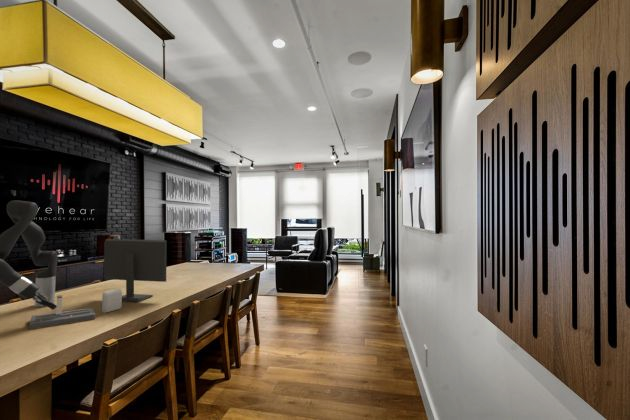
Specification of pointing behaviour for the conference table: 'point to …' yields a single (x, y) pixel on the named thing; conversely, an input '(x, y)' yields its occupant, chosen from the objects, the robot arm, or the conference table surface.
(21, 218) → the robot arm
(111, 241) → the computer monitor
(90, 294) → the conference table surface
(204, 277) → the conference table surface
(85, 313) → the grey slider track board
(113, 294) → the photo printer
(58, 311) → the fader
